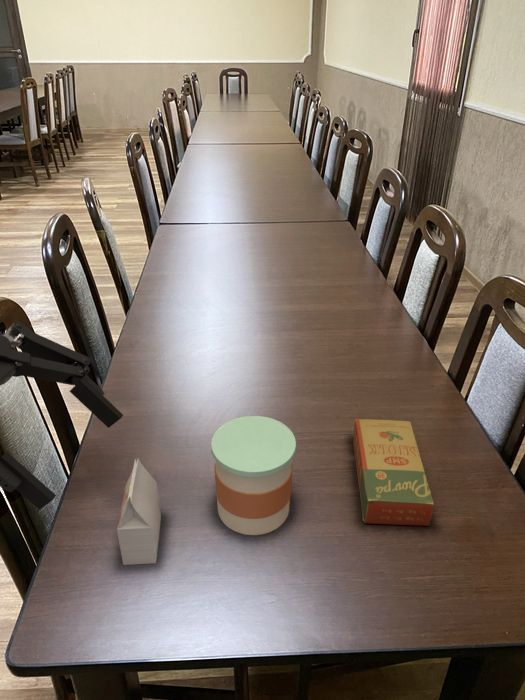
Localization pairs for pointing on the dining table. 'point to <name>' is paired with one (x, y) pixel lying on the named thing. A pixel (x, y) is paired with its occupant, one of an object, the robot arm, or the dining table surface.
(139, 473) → the paper tea packet
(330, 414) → the dining table surface
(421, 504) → the carton
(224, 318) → the dining table surface
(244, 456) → the coffee cup
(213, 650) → the dining table surface
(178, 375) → the dining table surface
